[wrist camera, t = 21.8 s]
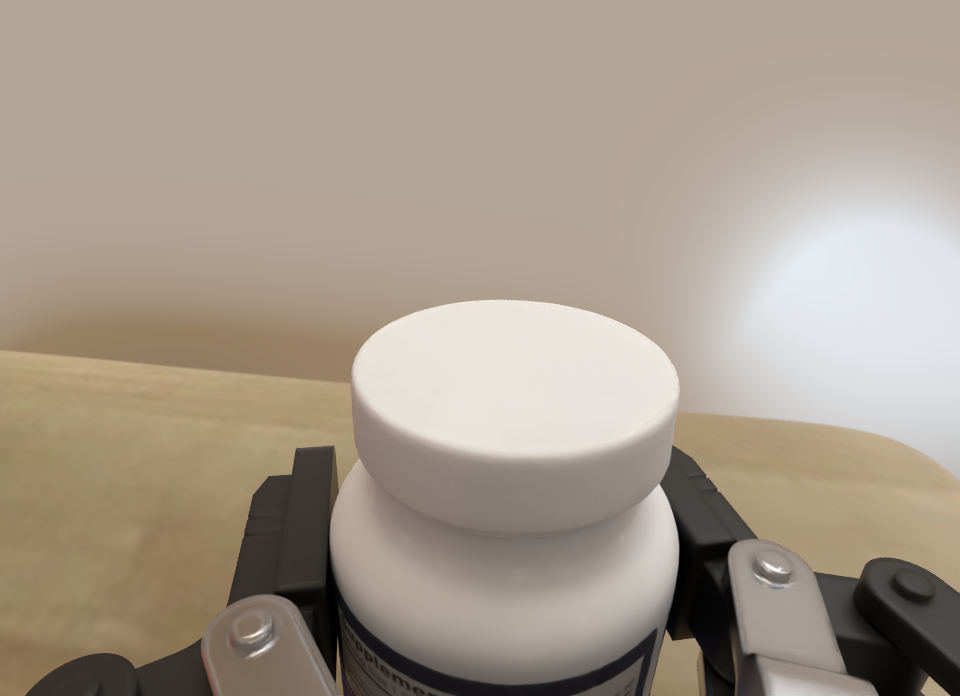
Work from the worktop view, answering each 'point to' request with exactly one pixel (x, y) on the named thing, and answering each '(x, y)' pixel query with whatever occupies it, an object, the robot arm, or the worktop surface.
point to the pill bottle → (506, 506)
